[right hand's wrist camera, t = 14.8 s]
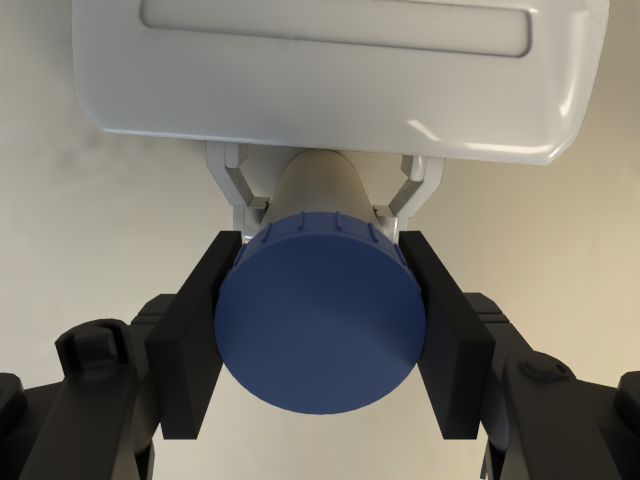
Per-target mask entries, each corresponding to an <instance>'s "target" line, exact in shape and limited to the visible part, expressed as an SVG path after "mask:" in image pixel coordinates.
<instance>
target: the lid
mask: <svg viewBox="0 0 640 480" xmlns="http://www.w3.org/2000/svg"><path fill="white" fill-rule="evenodd" d="M233 264H234V265H233V267H232V269H231V270H229V271H228V273H227V275H226V277H225V279H224V281H223V283H222V285H221V287H220V289H219V291H218V294H219V297H218V300H217V304H216V307H215V313H214V333H215V340H216V345H217V348H218V351H219V353H220V356H221V358H222V360H223V362H224V364H225V366H226V367H227V369H228V370H229V371H230V373H231V374H232V376H233V377H234V378H235V379H236V380H237V381H238V382H239V383H240V384H241V385H242V386H243V387H244V388H245V389H247V390H248V391H249V392H250V393H252V394H253V395H255V396H256V397H258V398H260V399H261V400H263V401H265V402H267V403H269V404H271V405H274V406H276V407H279V408H282V409H285V410H289V411H293V412H298V413H304V414H318V415H323V414H336V413H343V412H348V411H351V410H355V409H359V408H361V407H364V406H367V405H369V404H371V403H373V402H375V401H377V400H379V399H381V398H382V397H384V396H385V395H387V394H389V393H390V392H391V391H392V390H394V389H395V388H396V387H397V386H399V385H400V384H401V382H402V381H403V380H404V379H405V378H406V377H407V376H408V375H409V373H410V372H411V371H412V369H413V368H414V366H415V364H416V362H417V361H418V359H419V357H420V354H421V352H422V349H423V346H424V342H425V335H426V325H427V320H426V311H425V306H424V303H423V299H422V296H421V294H423V293H422V290H421V288H420V286H419V284H418V282H417V280H416V278H415V276H414V274H413V272H412V270H409V269H408V267H407V263H406V261H405V259H404V257H403V255H402V253H401V250H400V248H399V246H398V245H397V243H395V244H393V243H392V242H391V241H390V239H389V238H387V237H386V236H385V235H384V234H383V233H382V232H380V231H379V230H378V229H376V228H374V226H373V223H371V222H369V224H368V223H366V222H364V221H362V220H360V219H357V218H354V217H351V216H348V215H344V214H340V211H336V213H334V212H307V213H304V211H301V212H300V214H296V215H292V216H289V217H286V218H283V219H281V220H279V221H277V222H274V223H272V224H271V222H270V223H268V224H267V226H266V228H264V229H263V230H261V231H260V232H259V233H258V234H256V235H255V236H254V237H253V238H252V239H251V240H250V241H249V242H248V243H247V244H245V243H244V244H243V245H242V247H241V249H240V251H239V253H238V255H237V257H236V259H235V261H234V263H233Z"/></svg>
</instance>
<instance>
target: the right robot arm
mask: <svg viewBox="0 0 640 480" xmlns="http://www.w3.org/2000/svg"><path fill="white" fill-rule="evenodd" d="M398 246H399V248H400V250H401V253H402V255H403V257H404V259H405V261H406V263H407V267H408V269H409V270H412V272H413V274H414V276H415V278H416V280H417V282H418V284H419V286H420V288H421V290H422V293H423V294H421V296H422V299H423V303H424V306H425V311H426V320H427V325H426V335H425V342H424V346H423V349H422V352H421V354H420V357H419V359H418V361H417V364H418V367H419V370H420V373H421V376H422V379H423V382H424V384H425V387H426V390H427V393H428V396H429V399H430V402H431V404H432V407H433V410H434V413H435V416H436V419H437V422H438V424H439V427H440V430H441V433H442V436H443V439H477V434H478V429H479V425H480V420H481V422H482V424H483V427H484V429H485V431H486V433H487V435H488V441H487V445H486V450H485V455H484V459H483V464H482V469H481V475H480V478H481V479H484V480H485V478H486V474H487V475H488V480H640V371H633V372H627V373H626V374H624V375H623V376H621V379H620V381H619V384H618V387H617V388H614V387H609V386H604V385H599V384H595V383H590V382H585V381H581V380H578V379H576V376H575V375H574V374H573V372H572V371H571V370H570V368H569V367H568V366H566V365H565V364H564V363H562V362H561V361H560V360H558V359H556V358H554V357H552V356H550V355H547V354H545V353H541V352H537V351H534V350H533V349H532V348H531V347H530V346H529V344H528V343H527V342H526V341H525V339H524V338H523V337H522V336H521V334H520V333H519V332H518V331H517V329H516V328H515V327H514V326H513V324H512V323H510V321H509V320H508V318H507V317H506V316H505V315H504V314H503V312H502V311H501V310H500V308H499V307H498V306H497V305H496V303H495V302H494V301H492V300H491V299H489V298H487V297H486V296H484V295H483V294H481V293H462V291H461V290H460V288H459V287H458V285H457V284H456V282H455V281H454V280H453V278H452V277H451V275H450V274H449V272H448V271H447V269H446V268H445V266H444V265H443V264H442V262H441V261H440V259H439V258H438V256H437V255H436V253H435V252H434V251H433V249H432V248H431V246H430V245H429V243H428V242H427V240H426V239H425V238H424V236H423V235H422V233H421V232H420V231H399V237H398ZM241 247H242V234H241V231H220V232H219V234H218V235H217V236H216V238H215V239H214V241H213V242H212V244H211V245H210V247H209V248H208V250H207V251H206V252H205V254H204V255H203V257H202V258H201V260H200V261H199V263H198V264H197V265H196V267H195V268H194V270H193V271H192V273H191V274H190V276H189V277H188V278H187V280H186V281H185V283H184V284H183V286H182V287H181V289H180V290H179V291H178V293H177V294H160V295H158V296H157V297H155V298H153V299H152V300H150V301H149V302H147V303H146V304H145V305H144V307H143V308H142V309H141V310H140V312H139V313H138V316H136V317H135V318H134V319H133V320H132V322H131V325H127V324H126V323H124V322H123V321H122V320H117V319H98V320H94V321H89V322H85V323H83V324H80V325H78V326H75V327H73V328H71V329H70V330H68V331H67V332H65V333H63V334H62V335H61V336H60V337H59V338H58V339H57V340H56V342H55V346H56V349H57V352H58V356H59V359H60V362H61V365H62V369H63V372H64V375H65V377H64V379H63V381H61V382H58V383H54V384H49V385H44V386H39V387H35V388H30V389H25V390H24V389H23V386H22V383H21V381H20V378H19V377H17V376H16V375H14V374H11V373H0V480H152V476H153V467H154V458H155V452H154V445H153V441H152V437H153V435H154V433H155V431H156V429H157V427H158V425H159V423H161V428H162V433H163V438H164V439H197V437H198V434H199V431H200V428H201V425H202V422H203V419H204V417H205V414H206V411H207V408H208V405H209V402H210V399H211V397H212V394H213V391H214V388H215V385H216V382H217V379H218V377H219V374H220V371H221V368H222V365H223V360H222V358H221V356H220V353H219V351H218V348H217V345H216V340H215V333H214V313H215V307H216V304H217V300H218V297H219V294H218V291H219V289H220V287H221V285H222V283H223V281H224V279H225V277H226V275H227V273H228V271H229V270H231V269H232V267H233V265H234V264H233V263H234V261H235V259H236V257H237V255H238V253H239V251H240V249H241Z"/></svg>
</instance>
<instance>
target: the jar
mask: <svg viewBox="0 0 640 480" xmlns="http://www.w3.org/2000/svg"><path fill="white" fill-rule="evenodd" d="M301 211H304V213H307V212H334V213H336V211H340V214H344V215H348V216H351V217H354V218H357V219H360V220H362V221H364V222H366V223H368V224H369V222H371V223H373V226H374V228H376V229H378V230H379V231H380V232H382V233H383V231H382V229H381V227H380V224H379V222H378V220H377V217H376V215H375V213H374V210H373V208H372V206H371V203H370V201H369V199H368V196H367V194H366V192H365V189H364V187H363V185H362V182H361V180H360V178H359V175H358V173H357V171H356V169H355V168H354V166H353V165H352V164H351V162H350V161H349V160H347V159H346V158H345V157H344V156H342V155H341V154H339V153H337V152H334V151H331V150H326V149H315V150H310V151H307V152H304V153H302V154H300V155H298V156H297V157H295V158H294V159H293V160H292V161H291V162H290V163H289V164H288V165H287V167H286V169H285V170H284V172H283V174H282V177H281V179H280V181H279V184H278V186H277V188H276V191H275V193H274V195H273V197H272V200H271V202H270V204H269V207H268V209H267V211H266V214H265V216H264V218H263V221H262V223H261V225H260V228H259V230H258V232H257V234H258V233H259V232H260V231H261V230H263V229H264V228H266V226H267V224H268V223H270V222H271V224H272V223H274V222H277V221H279V220H281V219H283V218H286V217H289V216H292V215H296V214H300V212H301Z"/></svg>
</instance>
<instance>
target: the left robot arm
mask: <svg viewBox="0 0 640 480" xmlns="http://www.w3.org/2000/svg"><path fill="white" fill-rule="evenodd" d="M609 10H610V0H72V48H73V65H74V78H75V88H76V95H77V99H78V103H79V105H80V107H81V108H82V110H83V111H84V112H85V113H86V115H87V116H88V117H89V118H90V120H91V121H92V122H93V123H94V124H95V125H96V126H97V128H98V129H99V130H101V131H103V132H106V133H115V134H128V135H142V136H155V137H169V138H182V139H196V140H206V158H207V168H208V169H209V171H210V173H211V174H212V176H213V178H214V179H215V181H216V182H217V184H218V186H219V187H220V189H221V190H222V192H223V194H224V195H225V197H226V199H227V200H228V202H229V203H230V205H233V226H234V231H241V234H242V240H251V239H252V238H253V237H254V236H255V235H256V234H257V232H258V230H259V228H260V225H261V223H262V221H263V218H264V216H265V214H266V211H267V209H268V207H269V204H270V198H267V197H257V196H254V195H253V193H252V191H251V189H250V188H249V186H248V184H247V182H246V180H245V178H244V176H243V174H242V173H241V171H240V169H239V167H238V166H239V165H240V164H241V163H242V162H243V161H244V160H245V159H247V143H250V144H263V145H277V146H290V147H304V148H317V149H331V150H344V151H358V152H371V153H385V154H398V155H403V157H402V164H401V170H402V171H403V172H404V173H405V174H406V175H407V176H408V177H409V178H408V180H407V181H406V182H405V184H404V185H403V186H402V188H401V189H400V190H399V192H398V193H397V194H396V196H395V197H394V198H393V200H392V201H391V203H390V204H389V206H383V205H373V207H372V208H373V210H374V213H375V215H376V217H377V220H378V222H379V224H380V227H381V229H382V231H383V234H384V235H385V236H386V237H387V238H389V239H390V241H391V242H392V243H393V244H395V243H397V245H398V237H399V231H407V227H408V221H409V218H412V217H413V216H414V214H415V213H416V212H417V211H418V210H419V209H420V207H421V206H422V205H423V204H424V203H425V201H426V200H427V199H428V198H429V197H430V196H431V194H432V193H433V192H434V191H435V190H436V189H437V187H438V186H439V185H440V183H441V178H442V173H443V168H444V163H445V158H452V159H466V160H479V161H493V162H506V163H520V164H534V165H547V164H550V163H551V162H552V161H554V160H555V159H556V158H557V157H559V156H560V155H561V154H562V153H563V152H564V151H565V150H566V149H567V148H568V147H569V146H570V145H572V144H573V142H574V141H575V140H576V138H577V136H578V134H579V131H580V129H581V126H582V123H583V120H584V117H585V114H586V111H587V107H588V104H589V101H590V97H591V93H592V90H593V86H594V82H595V78H596V74H597V70H598V66H599V62H600V58H601V54H602V49H603V44H604V39H605V34H606V29H607V23H608V18H609Z"/></svg>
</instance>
